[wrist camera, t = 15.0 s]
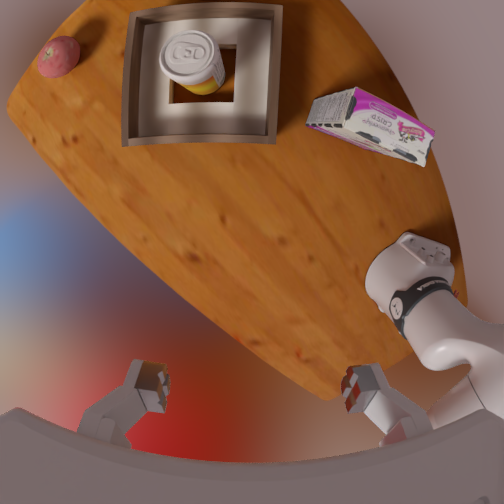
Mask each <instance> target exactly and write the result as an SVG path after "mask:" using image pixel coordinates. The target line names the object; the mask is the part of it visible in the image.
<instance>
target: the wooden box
mask: <svg viewBox="0 0 504 504" xmlns="http://www.w3.org/2000/svg"><path fill="white" fill-rule="evenodd" d="M282 15H283V5H275V4H264V3H246V2H209V3H192V4H181V5H172V6H165V7H158V8H152V9H146V10H141V11H136V12H131V13H130V17H129V23H128V30H127V38H126V46H125V56H124V67H123V83H122V114H121V129H122V147H125V146H136V145H149V144H165V143H192V142H233V143H261V144H276V133H277V117H278V100H279V81H280V61H281V39H282ZM185 30H199V31H203V32H206V33H208V34H209V35H211V36H212V37H213V38H214V39H215V40H216V42H217V44H218V46H219V49H237V50H236V66H235V85H234V102H199V103H176V104H174V80H172V79H170V78H169V77H167V76H166V75H165V74H164V72H163V71H162V69H161V67H160V63H159V56H160V52H161V49H162V47H163V45H164V44H165V42H166V41H167V40H168V39H169V38H170V37H171V36H173V35H174V34H176V33H178V32H181V31H185Z"/></svg>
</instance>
